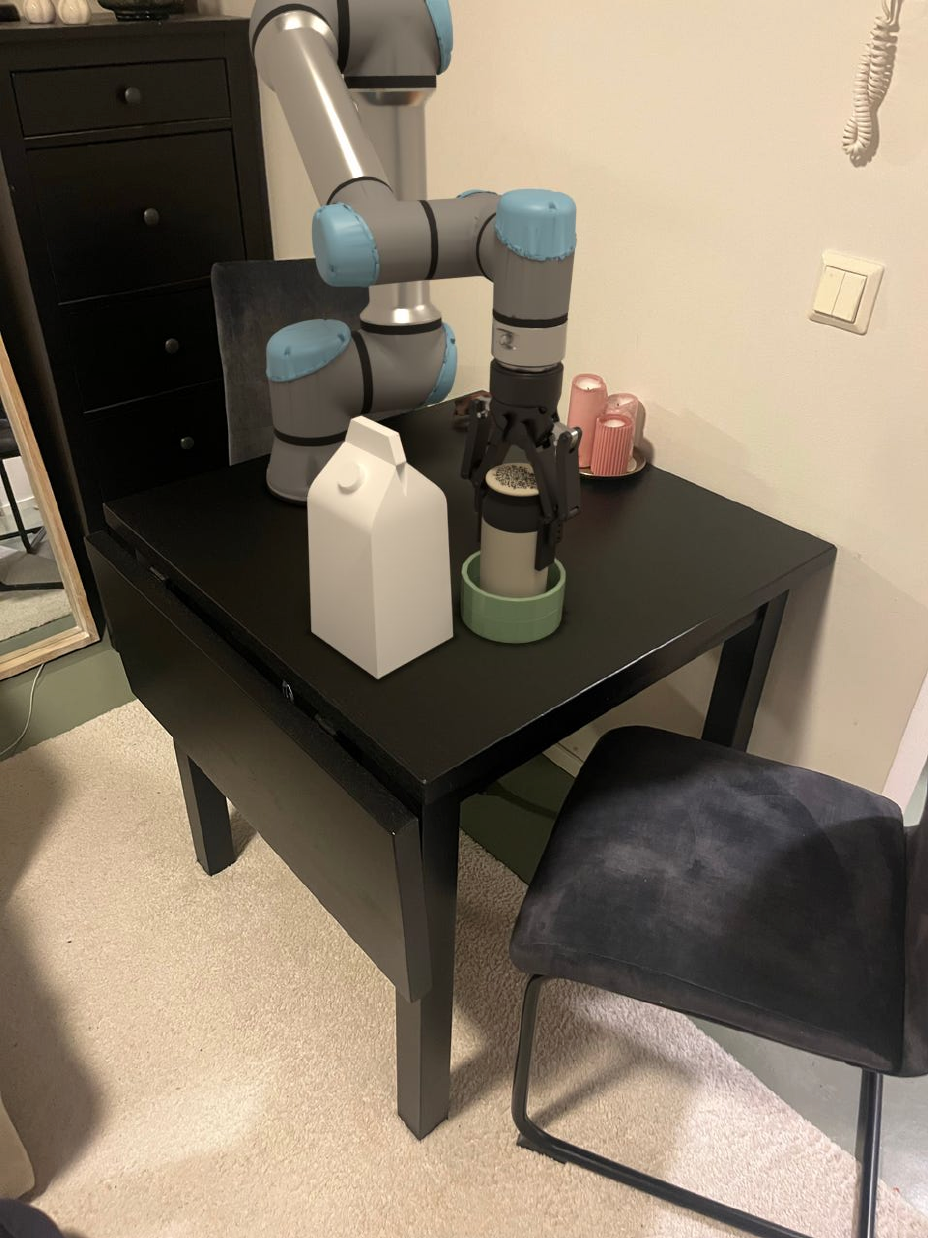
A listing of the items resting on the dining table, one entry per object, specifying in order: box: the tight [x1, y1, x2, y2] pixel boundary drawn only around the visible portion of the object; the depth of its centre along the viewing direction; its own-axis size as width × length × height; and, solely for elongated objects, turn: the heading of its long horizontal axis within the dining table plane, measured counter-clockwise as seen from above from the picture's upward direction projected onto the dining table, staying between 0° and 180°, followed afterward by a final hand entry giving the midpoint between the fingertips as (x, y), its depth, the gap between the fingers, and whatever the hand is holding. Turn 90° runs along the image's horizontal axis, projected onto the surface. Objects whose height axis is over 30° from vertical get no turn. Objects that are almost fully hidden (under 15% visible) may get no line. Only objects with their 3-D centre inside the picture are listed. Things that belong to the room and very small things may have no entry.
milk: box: [307, 415, 454, 680], centre depth 98 cm, size 12×12×26 cm
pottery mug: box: [451, 391, 496, 443], centre depth 152 cm, size 12×10×8 cm
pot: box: [460, 549, 567, 644], centre depth 108 cm, size 12×12×6 cm
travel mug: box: [479, 462, 548, 598], centre depth 104 cm, size 8×8×18 cm
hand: (514, 551), depth 105 cm, fingers closed on travel mug, 8 cm apart
